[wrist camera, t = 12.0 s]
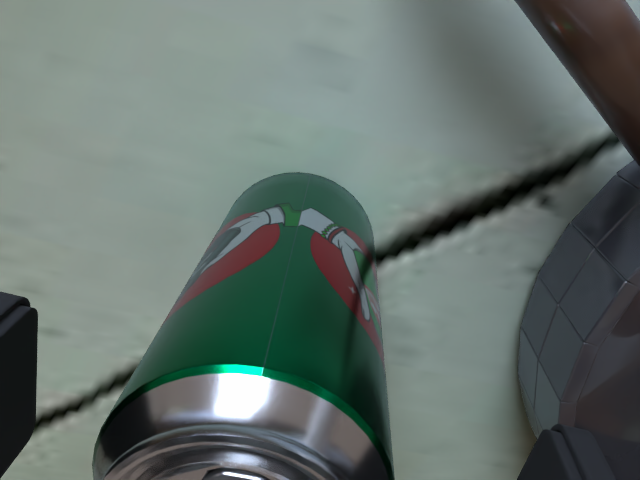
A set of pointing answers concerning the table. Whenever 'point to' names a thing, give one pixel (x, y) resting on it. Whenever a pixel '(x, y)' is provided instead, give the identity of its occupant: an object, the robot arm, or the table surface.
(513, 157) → the table surface
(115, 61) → the table surface
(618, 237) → the pan
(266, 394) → the soda can
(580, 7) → the pan handle
